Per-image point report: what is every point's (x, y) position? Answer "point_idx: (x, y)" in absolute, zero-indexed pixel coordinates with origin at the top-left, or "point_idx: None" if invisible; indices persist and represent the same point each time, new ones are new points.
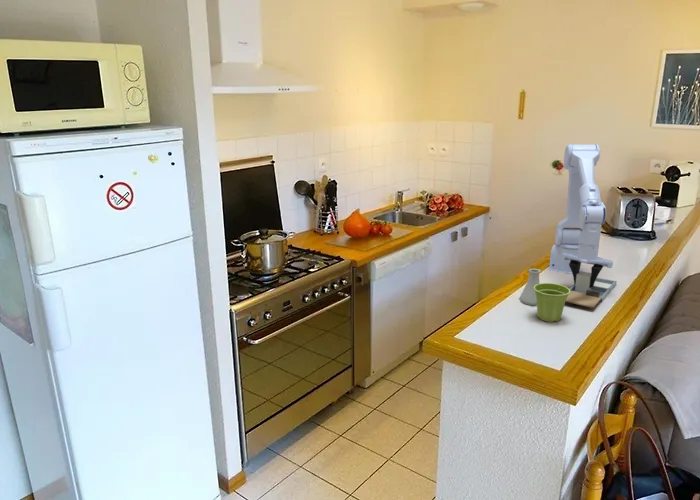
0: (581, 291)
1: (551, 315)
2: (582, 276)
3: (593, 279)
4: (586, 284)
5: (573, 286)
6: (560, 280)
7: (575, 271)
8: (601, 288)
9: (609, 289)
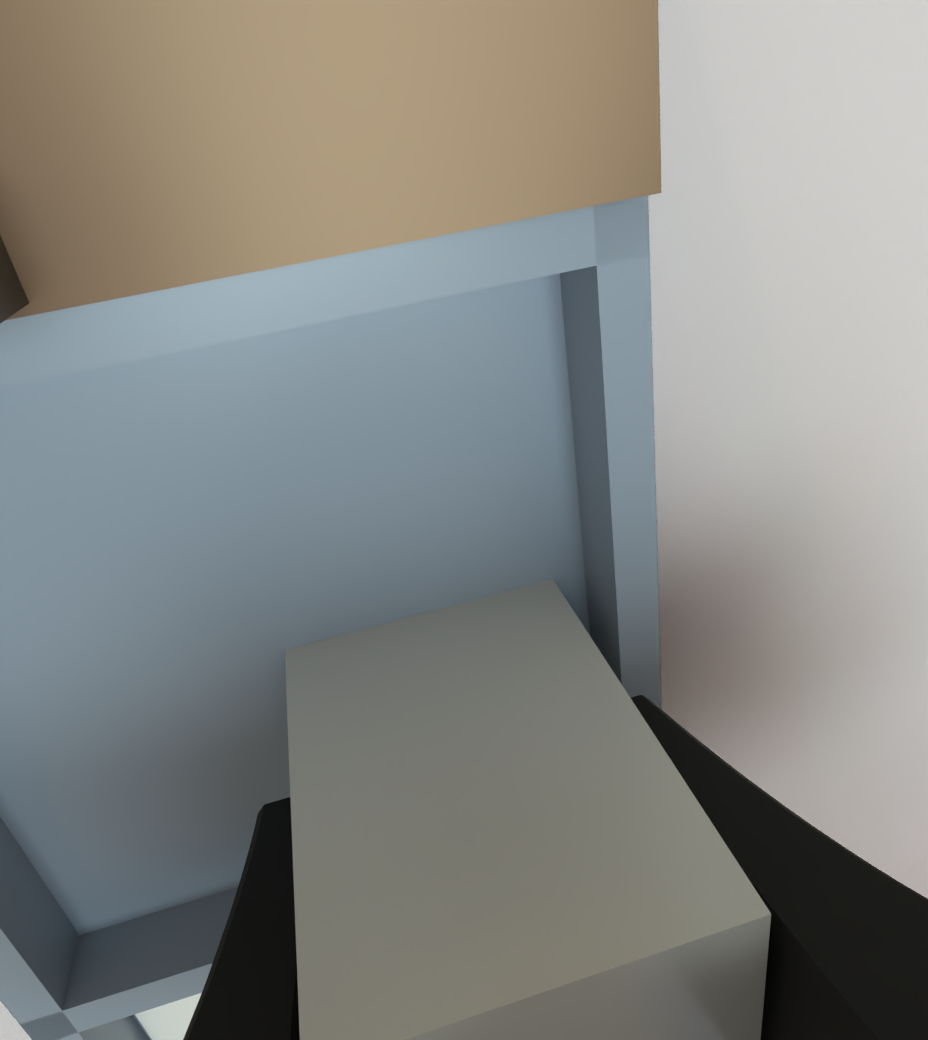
0: (425, 624)
1: None
2: (559, 940)
3: (205, 1036)
4: (362, 783)
5: (627, 639)
6: (875, 806)
7: (889, 998)
8: (184, 956)
9: (15, 1016)
